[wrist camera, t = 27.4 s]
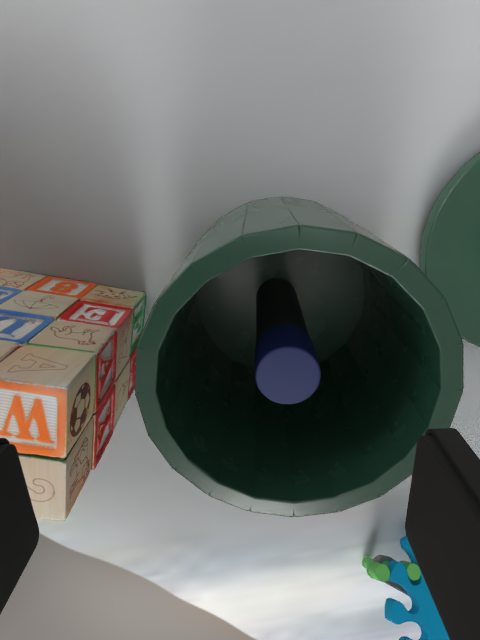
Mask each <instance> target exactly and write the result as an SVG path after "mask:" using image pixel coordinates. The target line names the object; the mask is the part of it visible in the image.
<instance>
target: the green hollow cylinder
mask: <svg viewBox="0 0 480 640" xmlns="http://www.w3.org/2000/svg"><path fill="white" fill-rule="evenodd" d="M273 278H280V279H284V280H286V281H288V282H289V283H291V285H292V286H293V287H294V289H295V291H296V295H297V298H298V301H299V304H300V308H301V311H302V314H303V318H304V321H305V324H306V327H307V331H308V334H309V337H310V338H311V340H312V343H313V346H314V350H315V353H316V356H317V359H318V362H319V366H320V370H321V379H320V383H319V385H318V387H317V389H316V390H315V392H314V393H313V394H312V395H311V396H310V397H309V398H307V399H306V400H304V401H302V402H299V403H295V404H280V403H276V402H273V401H271V400H270V399H268V398H267V397H265V396H264V395H263V394H262V393H261V391H260V390H259V388H258V386H257V384H256V380H255V348H256V295H257V291H258V289H259V287H260V286H261V285H262V284H263V283H264V282H265V281H267V280H269V279H273ZM462 393H463V343H462V338H461V335H460V333H459V330H458V328H457V325H456V323H455V320H454V318H453V315H452V313H451V310H450V308H449V305H448V303H447V300H446V298H445V297H444V296H443V294H442V293H441V292H440V290H439V289H438V288H437V287H436V286H435V285H434V284H433V283H432V282H431V281H430V280H429V279H428V278H427V277H426V276H425V274H424V273H423V272H422V271H421V270H420V269H419V268H418V267H417V266H416V265H415V264H414V263H413V262H412V261H411V260H410V259H409V258H407V257H406V256H405V255H403V254H402V253H400V252H399V251H397V250H396V249H394V248H392V247H391V246H389V245H388V244H386V243H385V242H383V241H381V240H380V239H378V238H377V237H375V236H374V235H372V234H370V233H369V232H367V231H366V230H364V229H363V228H361V227H359V226H358V225H356V224H355V223H353V222H351V221H350V220H348V219H347V218H345V217H344V216H342V215H340V214H338V213H336V212H334V211H332V210H331V209H329V208H326V207H324V206H322V205H320V204H319V203H317V202H313V201H310V200H305V199H299V198H294V197H274V198H265V199H261V200H257V201H253V202H249V203H246V204H244V205H242V206H240V207H238V208H236V209H234V210H233V211H231V212H229V213H228V214H226V215H225V216H223V217H221V218H220V219H218V220H217V221H216V223H215V224H214V225H213V226H212V227H211V228H210V229H209V230H208V231H207V232H206V234H205V235H204V236H203V237H202V238H201V239H200V240H199V241H198V243H197V244H196V245H195V247H194V248H193V250H192V251H191V252H190V254H189V255H188V257H187V258H186V259H185V261H184V262H183V264H182V265H181V266H180V268H179V269H178V271H177V272H176V273H175V275H174V276H173V278H172V279H171V280H170V282H169V283H168V285H167V286H166V287H165V289H164V290H163V292H162V293H161V294H160V296H159V297H158V299H157V300H156V302H155V303H154V306H153V308H152V311H151V313H150V315H149V318H148V320H147V322H146V325H145V327H144V330H143V332H142V334H141V337H140V339H139V341H138V346H137V348H136V369H135V395H136V398H137V401H138V404H139V407H140V411H141V414H142V417H143V420H144V423H145V427H146V430H147V433H148V436H149V437H150V438H151V440H152V441H153V442H154V444H155V445H156V447H157V448H158V449H159V451H160V452H161V453H162V455H163V456H164V458H165V459H166V460H167V462H168V463H169V464H170V466H171V467H172V468H173V469H174V470H175V471H177V472H178V473H179V474H181V475H182V476H183V477H185V478H186V479H187V480H189V481H190V482H191V483H193V484H194V485H195V486H197V487H198V488H199V489H201V490H202V491H203V492H205V493H206V494H208V495H209V496H211V497H213V498H216V499H218V500H221V501H223V502H226V503H229V504H231V505H234V506H236V507H239V508H241V509H244V510H246V511H249V510H250V511H251V512H257V513H265V514H273V515H280V516H288V517H293V516H294V517H300V516H308V515H317V514H325V513H334V512H338V510H339V511H343V510H346V509H348V508H351V507H354V506H356V505H359V504H362V503H364V502H367V501H370V500H372V499H375V498H378V497H380V496H381V495H384V494H385V493H386V492H388V491H389V490H391V489H392V488H393V487H395V486H396V485H398V484H399V483H400V482H402V481H403V480H405V479H406V478H407V477H409V476H410V475H412V474H413V467H414V461H415V454H416V447H417V440H418V437H419V436H421V435H425V432H426V431H427V429H439V428H450V426H451V423H452V420H453V418H454V415H455V412H456V409H457V407H458V404H459V401H460V398H461V396H462Z"/></svg>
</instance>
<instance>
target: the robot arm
mask: <svg viewBox="0 0 480 640" xmlns="http://www.w3.org/2000/svg"><path fill="white" fill-rule="evenodd" d="M405 528H406V535H407V539H408V541H409V544H410V546H411V549H412V551H413V553H414V556H415V558H416V560H417V563H418V565H419V568H420V570H421V572H422V575H423V577H424V579H425V582H426V584H427V587H428V589H429V591H430V594H431V596H432V598H433V601H434V603H435V605H436V608H437V610H438V613H439V615H440V617H441V620H442V622H443V624H444V627H445V629H446V631H447V634H448V636H449V639H450V640H480V459H479V458H478V457H477V455H476V454H475V453H474V451H473V450H472V449H471V448H470V446H469V445H468V444H467V442H466V441H465V440H464V438H463V437H462V436H461V435H460V433H459V432H458V431H457V430H456V429H454V428H439V429H427V431H426V432H425V435H421V436H419V437H418V440H417V447H416V454H415V461H414V467H413V474H412V481H411V488H410V495H409V502H408V508H407V515H406V523H405ZM38 539H39V528H38V524H37V521H36V517H35V513H34V510H33V506H32V503H31V499H30V495H29V492H28V488H27V485H26V481H25V477H24V474H23V470H22V466H21V463H20V459H19V456H18V452H17V449H16V446H15V445H13V444H10V443H9V441H8V440H7V439H6V438H0V614H1V612H2V610H3V608H4V606H5V605H6V603H7V601H8V599H9V597H10V595H11V593H12V591H13V589H14V588H15V586H16V584H17V582H18V580H19V578H20V576H21V574H22V572H23V570H24V569H25V567H26V565H27V563H28V561H29V559H30V557H31V555H32V554H33V552H34V550H35V548H36V545H37V543H38Z"/></svg>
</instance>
